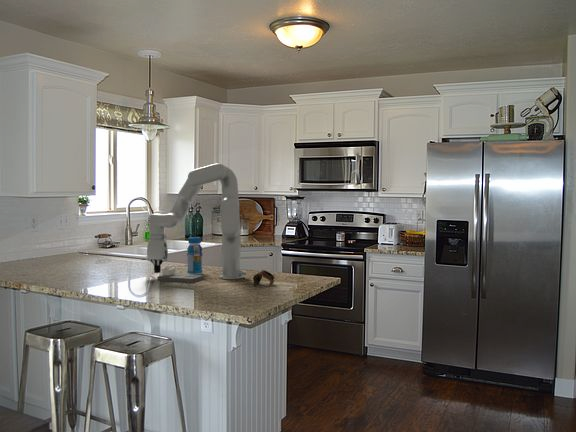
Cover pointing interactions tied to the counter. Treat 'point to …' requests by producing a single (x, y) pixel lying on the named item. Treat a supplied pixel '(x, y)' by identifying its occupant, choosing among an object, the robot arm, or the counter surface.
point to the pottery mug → (266, 275)
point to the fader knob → (168, 271)
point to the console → (181, 278)
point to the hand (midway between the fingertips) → (157, 272)
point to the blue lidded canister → (194, 256)
